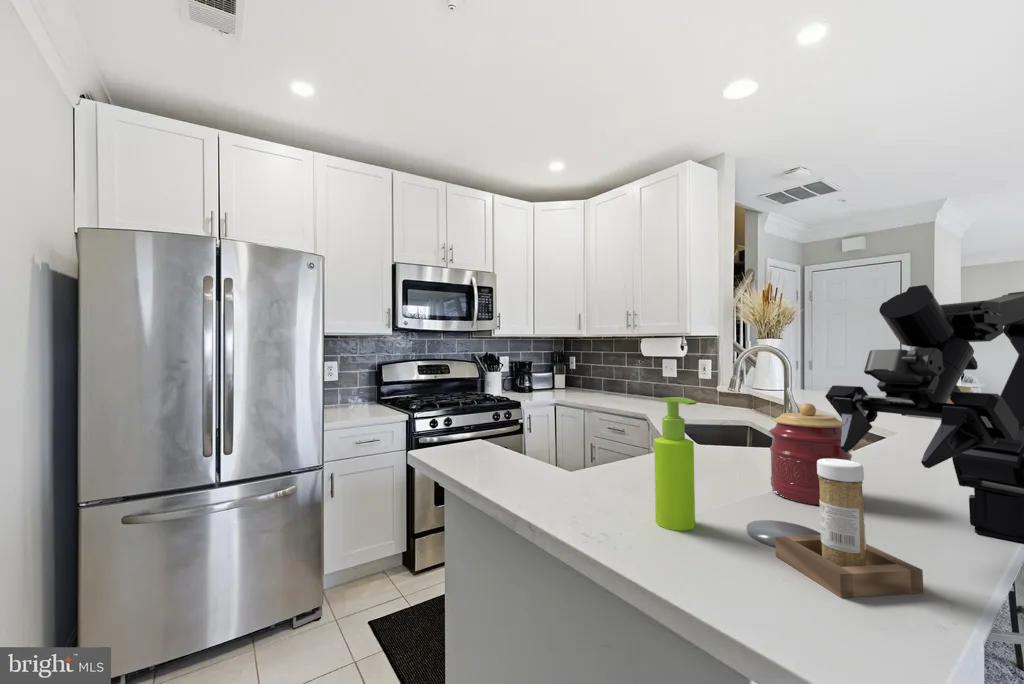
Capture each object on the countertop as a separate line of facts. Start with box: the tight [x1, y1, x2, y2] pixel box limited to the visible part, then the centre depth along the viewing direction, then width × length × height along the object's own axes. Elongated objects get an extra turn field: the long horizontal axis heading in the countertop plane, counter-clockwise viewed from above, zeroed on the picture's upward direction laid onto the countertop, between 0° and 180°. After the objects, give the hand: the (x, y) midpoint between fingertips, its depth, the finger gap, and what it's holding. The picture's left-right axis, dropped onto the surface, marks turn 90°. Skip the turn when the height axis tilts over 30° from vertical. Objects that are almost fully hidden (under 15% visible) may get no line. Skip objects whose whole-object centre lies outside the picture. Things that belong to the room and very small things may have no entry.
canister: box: [768, 402, 853, 506], centre depth 82 cm, size 13×13×18 cm
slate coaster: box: [746, 519, 821, 548], centre depth 63 cm, size 10×10×1 cm
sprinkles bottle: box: [817, 458, 867, 567], centre depth 53 cm, size 5×5×14 cm
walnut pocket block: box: [775, 535, 924, 599], centre depth 52 cm, size 10×10×2 cm
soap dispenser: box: [653, 396, 698, 532], centre depth 68 cm, size 6×7×20 cm
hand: (880, 457), depth 55 cm, fingers open, 9 cm apart
